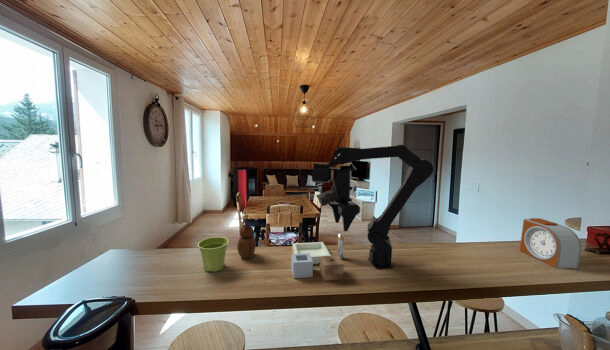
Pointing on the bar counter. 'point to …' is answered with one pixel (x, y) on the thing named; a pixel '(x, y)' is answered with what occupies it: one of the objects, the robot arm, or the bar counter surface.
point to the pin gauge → (341, 245)
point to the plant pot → (213, 253)
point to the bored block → (301, 265)
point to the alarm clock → (550, 243)
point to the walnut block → (331, 267)
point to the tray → (311, 250)
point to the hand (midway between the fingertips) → (341, 226)
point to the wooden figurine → (246, 241)
